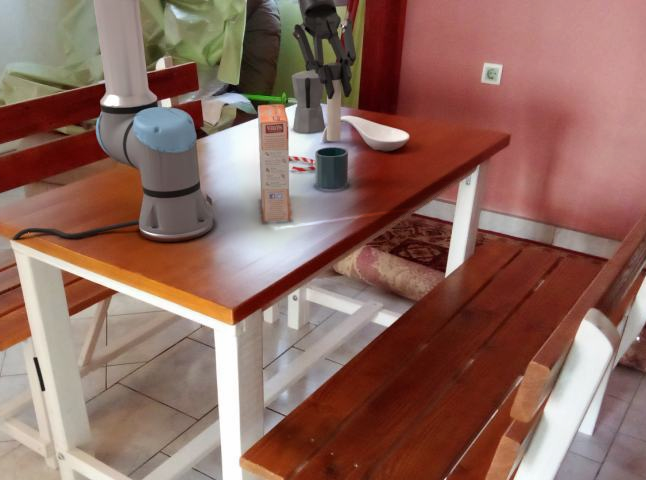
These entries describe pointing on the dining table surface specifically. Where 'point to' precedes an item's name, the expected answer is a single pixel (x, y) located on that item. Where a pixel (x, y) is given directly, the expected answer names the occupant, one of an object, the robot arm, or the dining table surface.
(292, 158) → the candy cane
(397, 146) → the spoon rest
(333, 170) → the pen holder
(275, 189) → the cracker box
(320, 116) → the coffeepot
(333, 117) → the marker
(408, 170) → the dining table surface
